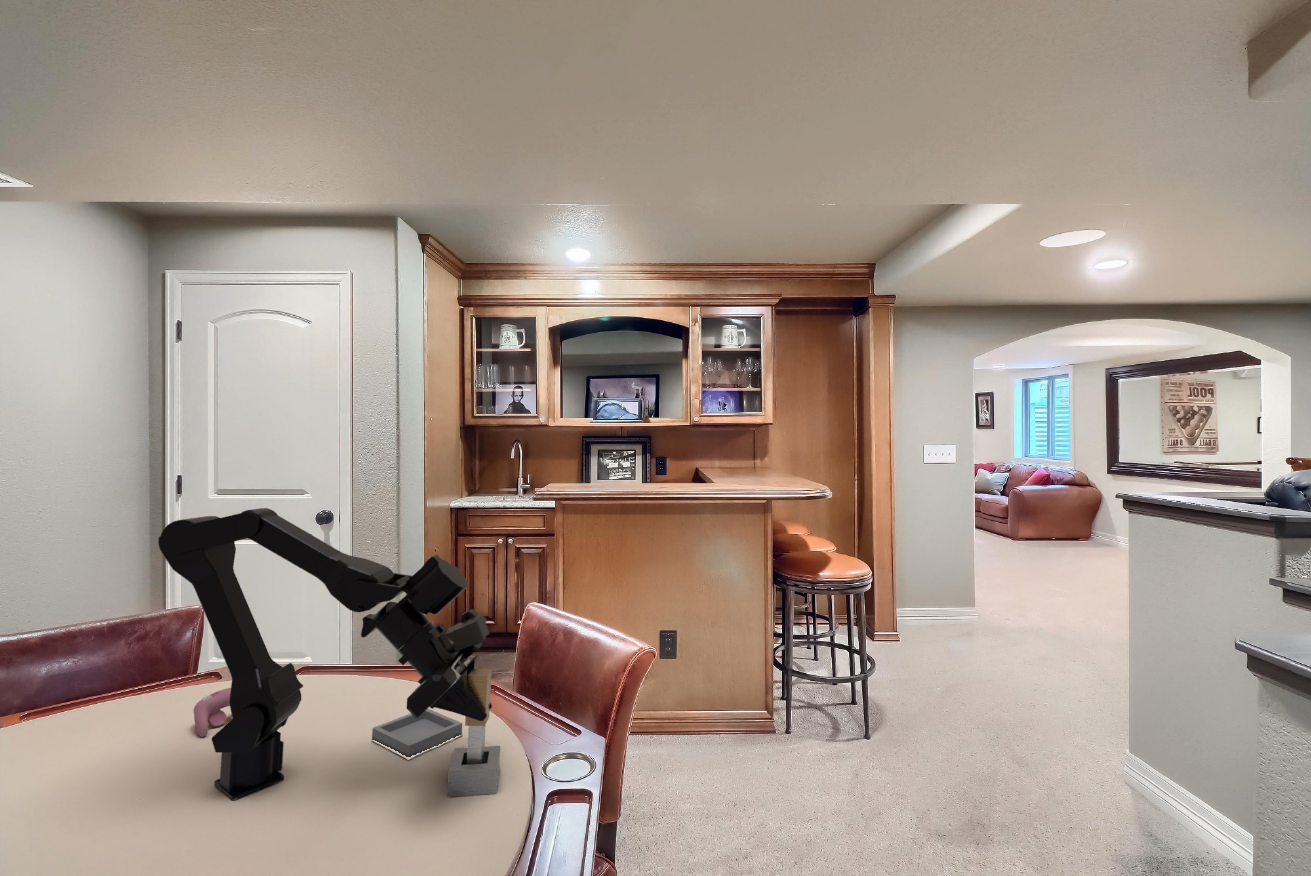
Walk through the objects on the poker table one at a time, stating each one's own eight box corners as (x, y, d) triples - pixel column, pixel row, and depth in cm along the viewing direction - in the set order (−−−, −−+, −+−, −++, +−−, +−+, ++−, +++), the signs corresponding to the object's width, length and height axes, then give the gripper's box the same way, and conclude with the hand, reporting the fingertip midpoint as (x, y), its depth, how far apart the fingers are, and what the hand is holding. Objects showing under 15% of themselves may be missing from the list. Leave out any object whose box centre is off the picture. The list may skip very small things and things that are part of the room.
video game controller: (260, 722, 104) (256, 682, 107) (269, 718, 102) (264, 677, 104) (191, 742, 97) (188, 698, 99) (199, 737, 94) (196, 692, 97)
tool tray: (408, 760, 90) (409, 745, 90) (371, 741, 96) (372, 727, 96) (461, 736, 99) (462, 723, 99) (425, 720, 104) (425, 707, 104)
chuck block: (496, 793, 82) (497, 768, 82) (447, 797, 81) (448, 771, 81) (499, 768, 89) (500, 745, 89) (453, 772, 87) (454, 748, 88)
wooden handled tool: (482, 768, 84) (487, 676, 84) (462, 768, 83) (467, 676, 84) (487, 758, 86) (491, 669, 87) (468, 758, 86) (472, 669, 87)
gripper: (436, 614, 76) (517, 700, 77) (472, 584, 95) (537, 654, 95) (371, 674, 76) (453, 761, 76) (420, 632, 94) (486, 702, 94)
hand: (487, 713), depth 85 cm, fingers closed on wooden handled tool, 3 cm apart
